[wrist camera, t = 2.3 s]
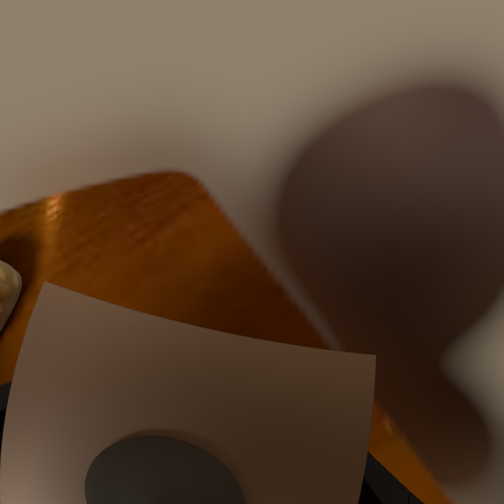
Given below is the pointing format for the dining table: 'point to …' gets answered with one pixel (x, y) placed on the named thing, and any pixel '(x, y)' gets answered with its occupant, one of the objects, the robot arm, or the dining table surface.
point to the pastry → (8, 291)
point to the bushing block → (178, 413)
